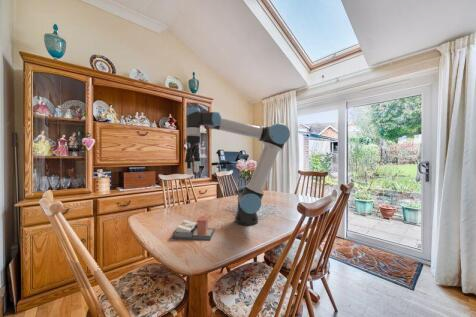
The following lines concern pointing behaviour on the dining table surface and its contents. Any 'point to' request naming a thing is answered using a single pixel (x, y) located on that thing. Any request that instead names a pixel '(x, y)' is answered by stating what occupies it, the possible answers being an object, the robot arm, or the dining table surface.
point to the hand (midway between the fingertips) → (193, 173)
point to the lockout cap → (202, 225)
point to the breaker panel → (194, 234)
